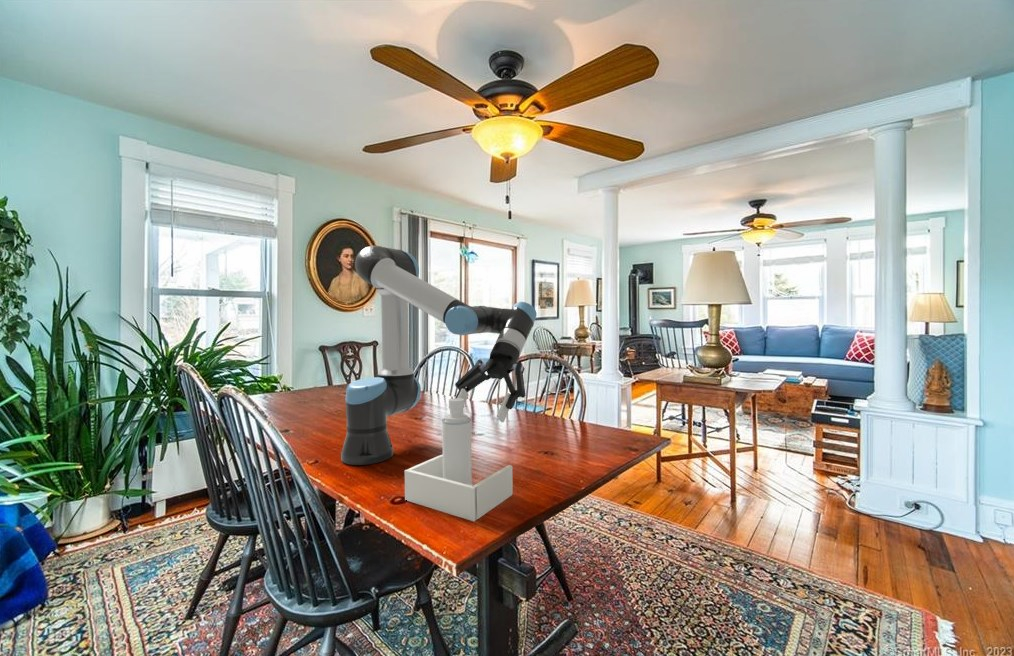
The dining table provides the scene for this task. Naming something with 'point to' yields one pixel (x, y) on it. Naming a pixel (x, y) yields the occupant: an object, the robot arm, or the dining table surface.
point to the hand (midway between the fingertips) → (476, 416)
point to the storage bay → (456, 490)
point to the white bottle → (457, 444)
